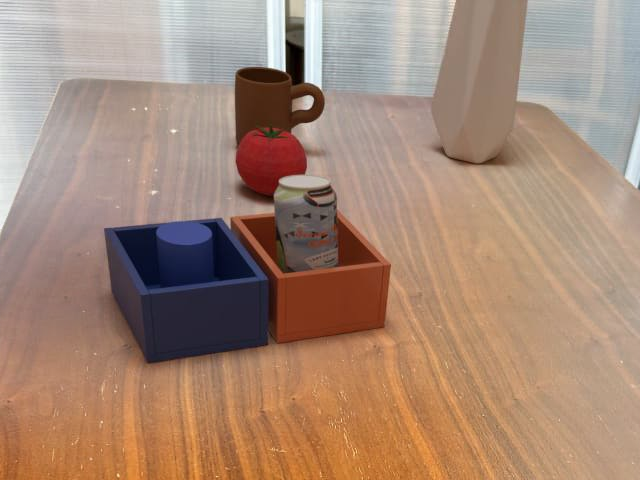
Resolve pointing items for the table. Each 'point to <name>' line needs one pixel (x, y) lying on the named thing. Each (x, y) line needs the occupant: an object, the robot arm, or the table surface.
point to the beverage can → (306, 223)
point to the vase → (479, 78)
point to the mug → (271, 101)
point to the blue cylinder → (184, 254)
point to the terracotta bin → (319, 283)
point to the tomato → (269, 158)
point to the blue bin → (187, 296)
